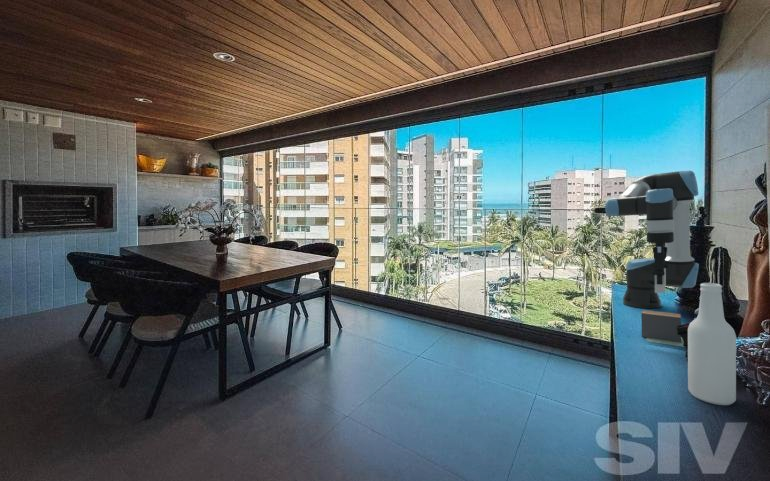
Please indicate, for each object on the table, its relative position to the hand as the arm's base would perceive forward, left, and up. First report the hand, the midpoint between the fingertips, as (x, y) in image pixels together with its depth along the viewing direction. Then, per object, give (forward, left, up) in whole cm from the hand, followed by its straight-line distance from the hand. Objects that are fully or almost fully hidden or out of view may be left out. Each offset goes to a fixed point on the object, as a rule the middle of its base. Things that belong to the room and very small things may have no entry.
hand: (660, 288), depth 119 cm
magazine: (+15, +11, -20) cm, 27 cm away
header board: (-4, +2, -20) cm, 20 cm away
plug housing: (0, 0, -18) cm, 18 cm away
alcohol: (+38, +11, -20) cm, 44 cm away
